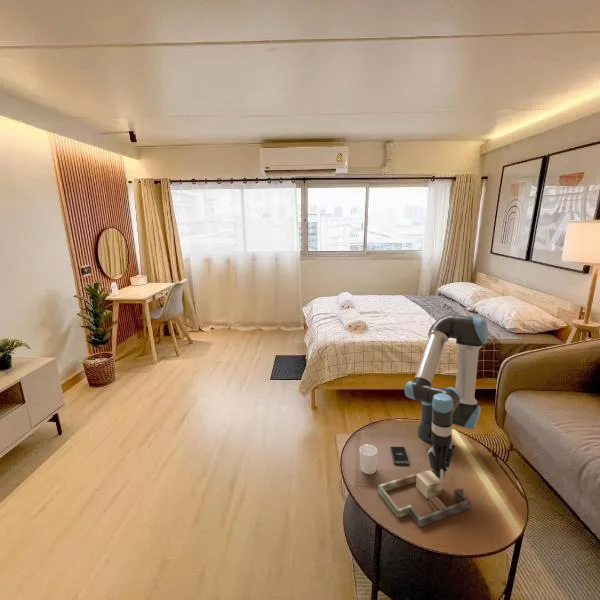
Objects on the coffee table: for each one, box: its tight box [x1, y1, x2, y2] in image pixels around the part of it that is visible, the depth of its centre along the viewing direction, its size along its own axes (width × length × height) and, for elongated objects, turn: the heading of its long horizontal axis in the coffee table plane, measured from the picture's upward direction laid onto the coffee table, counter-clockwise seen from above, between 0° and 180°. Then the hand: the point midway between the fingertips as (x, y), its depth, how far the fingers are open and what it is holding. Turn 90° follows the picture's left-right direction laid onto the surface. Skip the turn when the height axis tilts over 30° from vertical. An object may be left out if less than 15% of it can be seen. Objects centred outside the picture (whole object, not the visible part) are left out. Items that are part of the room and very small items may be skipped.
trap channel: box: [377, 467, 471, 528], centre depth 131 cm, size 31×20×3 cm, turn 108°
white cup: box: [359, 444, 378, 475], centre depth 148 cm, size 8×8×10 cm
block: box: [415, 470, 443, 500], centre depth 134 cm, size 7×7×6 cm
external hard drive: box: [389, 445, 410, 466], centre depth 156 cm, size 7×11×2 cm, turn 174°
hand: (439, 482), depth 136 cm, fingers closed
